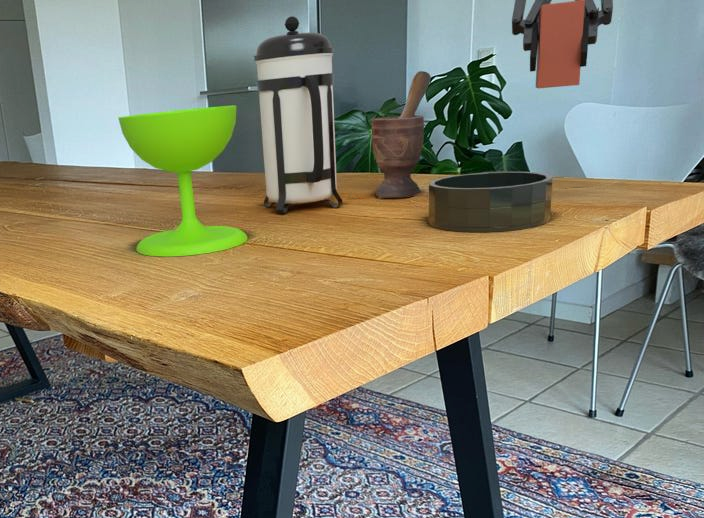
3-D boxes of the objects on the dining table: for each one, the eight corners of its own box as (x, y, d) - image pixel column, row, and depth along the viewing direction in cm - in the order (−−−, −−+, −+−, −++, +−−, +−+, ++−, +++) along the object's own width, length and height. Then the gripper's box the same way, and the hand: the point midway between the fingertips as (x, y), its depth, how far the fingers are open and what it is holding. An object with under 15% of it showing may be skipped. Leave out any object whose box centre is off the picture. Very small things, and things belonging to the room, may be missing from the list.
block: (575, 83, 109) (580, 2, 106) (579, 84, 105) (585, -1, 101) (535, 87, 111) (539, 7, 107) (537, 88, 106) (541, 5, 103)
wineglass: (242, 228, 113) (231, 104, 107) (253, 248, 98) (241, 106, 92) (138, 239, 112) (121, 115, 106) (133, 261, 97) (114, 119, 91)
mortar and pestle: (390, 189, 136) (389, 74, 130) (436, 188, 132) (437, 69, 125) (365, 199, 128) (362, 76, 121) (413, 199, 123) (413, 71, 116)
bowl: (544, 208, 105) (546, 168, 103) (554, 230, 91) (557, 185, 89) (432, 213, 110) (432, 175, 108) (426, 234, 96) (425, 191, 94)
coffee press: (237, 214, 125) (221, 22, 115) (291, 198, 137) (281, 22, 126) (323, 218, 115) (313, 6, 104) (374, 200, 126) (370, 7, 115)
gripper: (633, -44, 111) (630, 74, 103) (500, -24, 119) (488, 87, 111) (639, -90, 105) (637, 32, 97) (499, -66, 113) (486, 49, 104)
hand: (558, 61), depth 104 cm, fingers closed on block, 6 cm apart
